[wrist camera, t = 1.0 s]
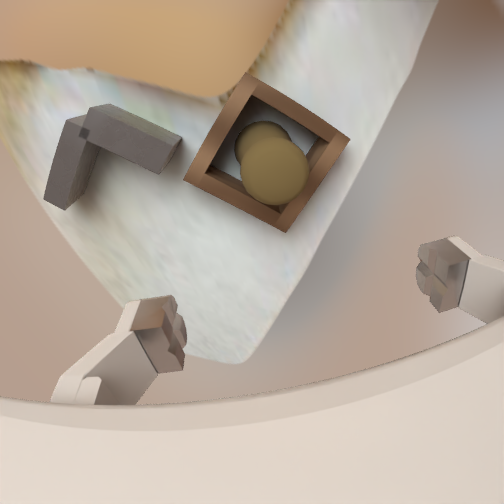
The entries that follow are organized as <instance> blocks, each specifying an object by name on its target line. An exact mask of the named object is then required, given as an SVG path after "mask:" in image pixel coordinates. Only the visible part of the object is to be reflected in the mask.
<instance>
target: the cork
mask: <svg viewBox="0 0 504 504" xmlns="http://www.w3.org/2000/svg"><path fill="white" fill-rule="evenodd" d="M234 151H235V155H236V159H237V161H238V162H239V164H240V165H241V170H240V175H241V179H242V183H243V185H244V187H245V189H246V190H247V192H248V193H249V194H250V195H251V196H252V197H254V198H255V199H256V200H257V201H260V202H262V203H264V204H268V205H281V204H286V203H288V202H290V201H292V200H294V199H296V198H297V197H298V196H299V195H300V194H301V193H302V192H303V190H304V188H305V187H306V185H307V183H308V177H309V166H308V161H307V159H306V157H305V155H304V153H303V151H302V150H301V149H300V148H299V147H298V146H297V145H295V144H294V143H292V142H291V139H290V137H289V135H288V133H287V131H286V130H284V129H283V128H282V127H281V126H280V125H278V124H276V123H274V122H271V121H257V122H253V123H251V124H249V125H247V126H246V127H245V128H244V129H243V130H242V131H241V132H240V133H239V135H238V137H237V139H236V141H235V149H234Z"/></svg>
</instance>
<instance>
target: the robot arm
mask: <svg viewBox="0 0 504 504" xmlns="http://www.w3.org/2000/svg"><path fill="white" fill-rule="evenodd" d="M418 257H419V259H420V260H421V262H420V263H419V265H418V266H417V269H416V279H417V284H418V286H419V288H420V290H421V291H422V292H423V293H424V294H426V295H429V296H430V302H431V303H432V305H433V306H434V307H435V308H436V309H437V311H438V312H439V313H440V312H443V311H447V310H450V309H452V308H456V307H459V308H460V309H462V310H464V311H465V312H467V313H469V314H471V315H473V316H474V317H476V318H478V319H480V320H481V321H483V322H485V323H487V324H486V325H484V326H482V327H480V328H478V329H476V330H473V331H471V332H469V333H466V334H464V335H462V336H459V337H457V338H454V339H452V340H449V341H447V342H444V343H442V344H439V345H437V346H434V347H432V348H429V349H426V350H424V351H421V352H418V353H415V354H412V355H409V356H406V357H403V358H400V359H397V360H394V361H391V362H388V363H385V364H382V365H378V366H375V367H371V368H368V369H365V370H361V371H358V372H354V373H350V374H347V375H343V376H339V377H335V378H331V379H327V380H323V381H318V382H314V383H309V384H305V385H300V386H295V387H290V388H285V389H280V390H275V391H269V392H263V393H257V394H251V395H244V396H237V397H230V398H222V399H213V400H205V401H194V402H182V403H169V404H168V403H167V404H147V405H136V403H137V402H138V400H139V399H140V398H141V396H142V395H143V394H144V393H145V391H146V390H147V389H148V387H149V386H150V385H151V384H152V382H153V381H154V380H155V378H156V377H157V376H158V373H167V372H174V371H182V370H183V366H184V358H185V354H184V352H183V348H184V346H185V345H186V343H187V332H186V327H185V323H184V320H183V318H182V316H181V315H179V314H178V313H176V312H177V306H178V305H177V303H176V301H175V298H174V297H173V296H172V295H167V296H160V297H153V298H146V299H139V300H134V301H129V302H127V304H126V306H125V308H124V311H123V313H122V316H121V318H120V320H119V323H118V325H117V327H116V330H115V332H114V334H109V335H108V336H107V337H106V338H105V339H103V340H102V341H101V342H100V343H99V344H98V345H97V346H95V347H94V348H93V349H92V350H91V351H89V352H88V353H87V354H86V355H85V356H83V357H82V358H81V359H80V360H79V361H78V362H76V363H75V364H74V365H73V366H72V367H71V368H69V369H68V370H67V371H66V372H65V373H64V374H62V375H61V377H60V379H59V381H58V383H57V386H56V388H55V390H54V393H53V395H52V398H51V400H50V402H41V401H32V400H23V399H16V398H9V397H2V396H0V504H504V260H500V259H497V258H494V257H491V256H487V255H484V256H482V255H481V254H480V253H479V252H477V251H476V250H475V249H474V248H472V247H471V246H470V245H468V244H467V243H466V242H465V241H463V240H462V239H460V238H459V237H458V236H451V237H447V238H444V239H441V240H437V241H433V242H430V243H426V244H422V245H420V247H419V251H418Z"/></svg>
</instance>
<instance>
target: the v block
mask: <svg viewBox="0 0 504 504" xmlns="http://www.w3.org/2000/svg"><path fill="white" fill-rule="evenodd" d="M181 138H182V137H180V136H178V135H176V134H174V133H172V132H170V131H168V130H166V129H164V128H162V127H160V126H157V125H155V124H153V123H151V122H149V121H147V120H145V119H143V118H140V117H138V116H136V115H134V114H132V113H129V112H127V111H125V110H123V109H121V108H118V107H116V106H114V105H111V104H105V105H100V106H95V107H90V108H89V110H88V113H87V114H86V115H82V116H78V117H75V118H71V119H67V120H66V122H65V125H64V128H63V131H62V134H61V137H60V140H59V143H58V146H57V149H56V153H55V156H54V159H53V163H52V166H51V170H50V174H49V178H48V182H47V186H46V190H45V194H44V200H46V201H47V202H49V203H51V204H53V205H55V206H57V207H59V208H61V209H63V210H66V209H67V208H68V207H69V206H70V205H72V204H73V203H74V202H75V201H76V200H77V199H79V198H80V197H81V196H82V195H83V194H84V192H85V189H86V186H87V183H88V180H89V177H90V174H91V171H92V168H93V165H94V163H95V160H96V157H97V154H98V152H99V149H100V147H102V148H104V149H106V150H108V151H111V152H113V153H115V154H117V155H119V156H121V157H123V158H125V159H127V160H129V161H131V162H134V163H136V164H138V165H140V166H142V167H144V168H146V169H148V170H150V171H152V172H154V173H156V174H158V175H159V174H160V172H161V171H162V170H163V169H164V167H165V166H166V165H167V164H168V163H169V161H170V159H171V157H172V155H173V153H174V151H175V149H176V148H177V146H178V144H179V142H180V140H181Z"/></svg>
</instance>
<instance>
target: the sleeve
mask: <svg viewBox="0 0 504 504" xmlns="http://www.w3.org/2000/svg"><path fill="white" fill-rule="evenodd" d="M251 95H252V96H254V97H255V98H257V99H259V100H261V101H262V102H264V103H266V104H268V105H269V106H271V107H273V108H274V109H276V110H278V111H279V112H281V113H283V114H284V115H286V116H288V117H289V118H291V119H292V120H294V121H296V122H297V123H299V124H300V125H302V126H304V127H305V128H307V129H308V130H310V131H311V132H313V133H314V134H316V135H317V136H319V137H318V138H317V140H316V141H315V143H314V144H313V146H312V147H311V149H310V150H309V152H308V153H307V155H306V156H305V157H306V159H307V161H308V166H309V177H308V183H307V185H306V187H305V188H304V190H303V192H302V193H301V194H300V195H299V196H298V197H297V198H296V199H294V200H292V201H290V202H288V203H286V204H281V205H268V204H264V203H262V202H260V201H257V200H256V199H255V198H254V197H252V196H251V195H250V194H249V193H248V192H247V190H246V189H245V187H244V185H243V183H242V181H240V180H238V179H236V178H234V177H233V176H231V175H229V174H227V173H225V172H223V171H221V170H219V169H217V168H215V167H214V166H212V165H210V163H211V161H212V159H213V157H214V156H215V154H216V152H217V150H218V149H219V147H220V145H221V144H222V142H223V140H224V138H225V137H226V135H227V133H228V132H229V130H230V128H231V127H232V125H233V123H234V122H235V120H236V118H237V117H238V115H239V114H240V112H241V110H242V109H243V107H244V105H245V104H246V102H247V101H248V99H249V97H250V96H251ZM349 141H350V139H349V138H348V137H347V136H345V135H344V134H343V133H341V132H340V131H338V130H337V129H336V128H334V127H333V126H331V125H330V124H329V123H327V122H326V121H324V120H323V119H321V118H320V117H318V116H317V115H315V114H314V113H312V112H311V111H309V110H308V109H306V108H305V107H303V106H302V105H300V104H298V103H297V102H295V101H294V100H292V99H290V98H289V97H287V96H286V95H284V94H282V93H281V92H279V91H277V90H276V89H274V88H272V87H271V86H269V85H267V84H265V83H264V82H262V81H260V80H258V79H257V78H255V77H253V76H251V75H249V74H247V73H246V72H245V74H244V75H243V77H242V78H241V80H240V82H239V83H238V85H237V86H236V88H235V90H234V91H233V93H232V94H231V96H230V98H229V99H228V101H227V103H226V104H225V106H224V108H223V109H222V111H221V113H220V114H219V116H218V118H217V119H216V121H215V123H214V124H213V126H212V128H211V130H210V131H209V133H208V135H207V137H206V138H205V140H204V142H203V144H202V146H201V147H200V149H199V151H198V153H197V155H196V157H195V158H194V160H193V162H192V164H191V166H190V168H189V170H188V171H187V173H186V175H185V177H184V179H183V180H184V181H186V182H188V183H190V184H192V185H194V186H196V187H198V188H200V189H202V190H204V191H206V192H208V193H210V194H212V195H214V196H216V197H218V198H220V199H222V200H224V201H226V202H228V203H230V204H231V205H233V206H235V207H237V208H239V209H241V210H243V211H245V212H247V213H249V214H251V215H253V216H254V217H256V218H258V219H260V220H262V221H264V222H266V223H268V224H270V225H272V226H273V227H275V228H277V229H279V230H281V231H283V232H285V233H286V232H287V230H288V229H289V228H290V226H291V225H292V223H293V222H294V220H295V219H296V218H297V216H298V215H299V213H300V212H301V210H302V209H303V208H304V206H305V205H306V203H307V202H308V200H309V199H310V197H311V196H312V195H313V193H314V192H315V190H316V189H317V187H318V186H319V185H320V183H321V182H322V180H323V179H324V177H325V176H326V174H327V173H328V171H329V170H330V169H331V167H332V166H333V164H334V163H335V161H336V160H337V158H338V157H339V155H340V154H341V152H342V151H343V150H344V148H345V147H346V145H347V144H348V142H349Z"/></svg>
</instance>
